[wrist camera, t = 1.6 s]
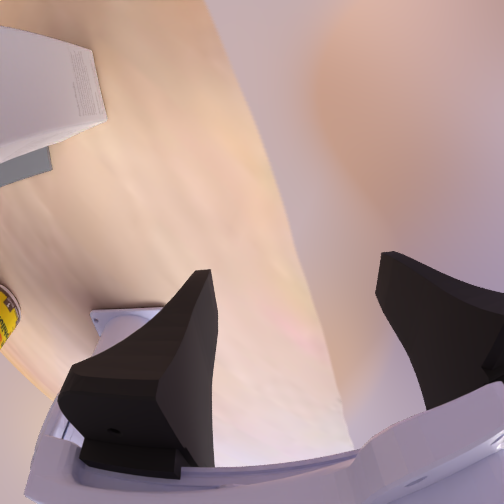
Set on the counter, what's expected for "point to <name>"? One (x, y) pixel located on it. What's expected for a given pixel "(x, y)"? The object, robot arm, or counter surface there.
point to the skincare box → (44, 92)
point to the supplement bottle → (8, 314)
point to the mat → (25, 166)
